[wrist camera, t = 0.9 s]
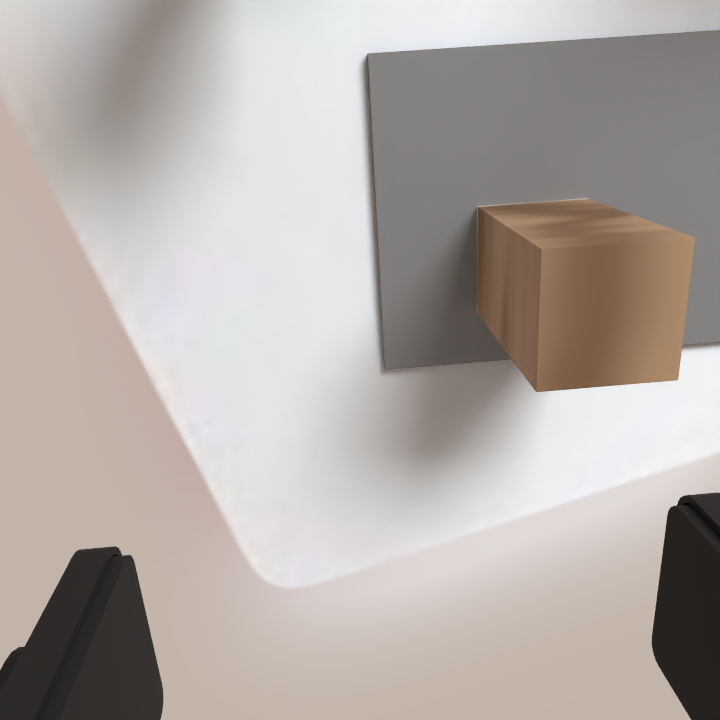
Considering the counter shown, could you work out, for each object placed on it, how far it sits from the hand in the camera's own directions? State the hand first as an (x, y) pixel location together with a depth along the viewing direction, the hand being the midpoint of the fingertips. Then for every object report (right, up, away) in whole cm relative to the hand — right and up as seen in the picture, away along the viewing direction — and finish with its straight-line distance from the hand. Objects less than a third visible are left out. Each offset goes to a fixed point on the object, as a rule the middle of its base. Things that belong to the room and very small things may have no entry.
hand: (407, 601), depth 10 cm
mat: (+10, +11, +20) cm, 25 cm away
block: (+7, +8, +21) cm, 23 cm away
